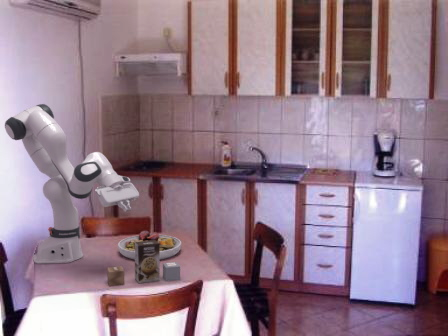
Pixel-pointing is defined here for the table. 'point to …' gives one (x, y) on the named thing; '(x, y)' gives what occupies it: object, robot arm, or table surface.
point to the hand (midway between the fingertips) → (128, 210)
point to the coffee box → (147, 261)
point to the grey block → (171, 271)
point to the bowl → (167, 243)
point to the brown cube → (115, 276)
